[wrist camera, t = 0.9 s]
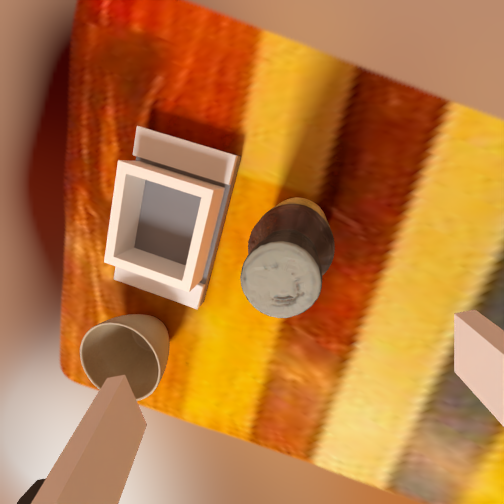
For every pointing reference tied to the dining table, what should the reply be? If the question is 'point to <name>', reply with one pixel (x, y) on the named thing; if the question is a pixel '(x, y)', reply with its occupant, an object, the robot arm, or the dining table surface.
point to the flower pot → (127, 352)
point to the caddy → (169, 215)
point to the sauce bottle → (287, 258)
